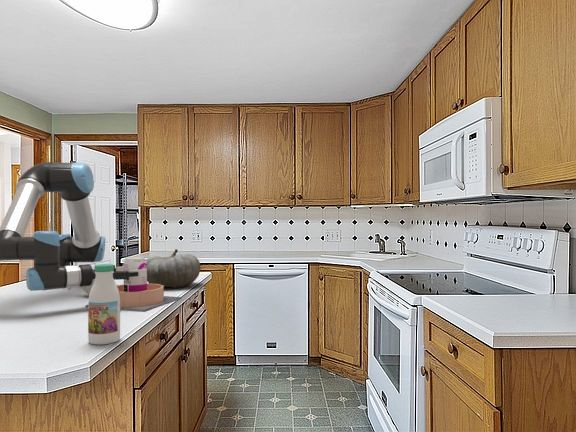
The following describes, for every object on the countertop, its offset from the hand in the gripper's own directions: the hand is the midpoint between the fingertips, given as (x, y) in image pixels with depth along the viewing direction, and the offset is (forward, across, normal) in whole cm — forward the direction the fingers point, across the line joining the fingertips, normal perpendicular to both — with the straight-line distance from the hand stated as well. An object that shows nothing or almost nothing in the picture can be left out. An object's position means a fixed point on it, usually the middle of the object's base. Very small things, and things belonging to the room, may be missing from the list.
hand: (139, 271), depth 169 cm
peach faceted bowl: (-1, 0, -12) cm, 12 cm away
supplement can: (-2, 0, -10) cm, 10 cm away
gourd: (+24, -26, -12) cm, 38 cm away
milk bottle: (-25, +44, -12) cm, 53 cm away
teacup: (-10, -24, -12) cm, 28 cm away
